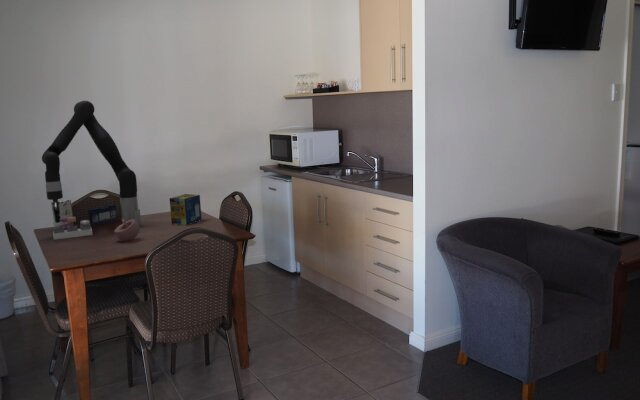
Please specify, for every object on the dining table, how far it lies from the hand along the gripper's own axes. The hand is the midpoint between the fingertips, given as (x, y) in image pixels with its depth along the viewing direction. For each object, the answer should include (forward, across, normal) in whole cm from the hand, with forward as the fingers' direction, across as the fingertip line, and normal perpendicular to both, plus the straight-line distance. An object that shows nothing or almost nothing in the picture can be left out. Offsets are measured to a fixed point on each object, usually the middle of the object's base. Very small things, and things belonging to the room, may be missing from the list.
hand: (57, 222), depth 295 cm
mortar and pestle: (+8, -30, -32) cm, 44 cm away
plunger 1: (+4, 0, 0) cm, 4 cm away
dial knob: (+3, 0, -7) cm, 7 cm away
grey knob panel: (+8, 0, -7) cm, 11 cm away
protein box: (+8, -1, -67) cm, 68 cm away
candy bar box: (+9, +24, -2) cm, 25 cm away
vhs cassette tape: (+9, +28, -24) cm, 38 cm away
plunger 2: (+5, 0, -13) cm, 14 cm away
